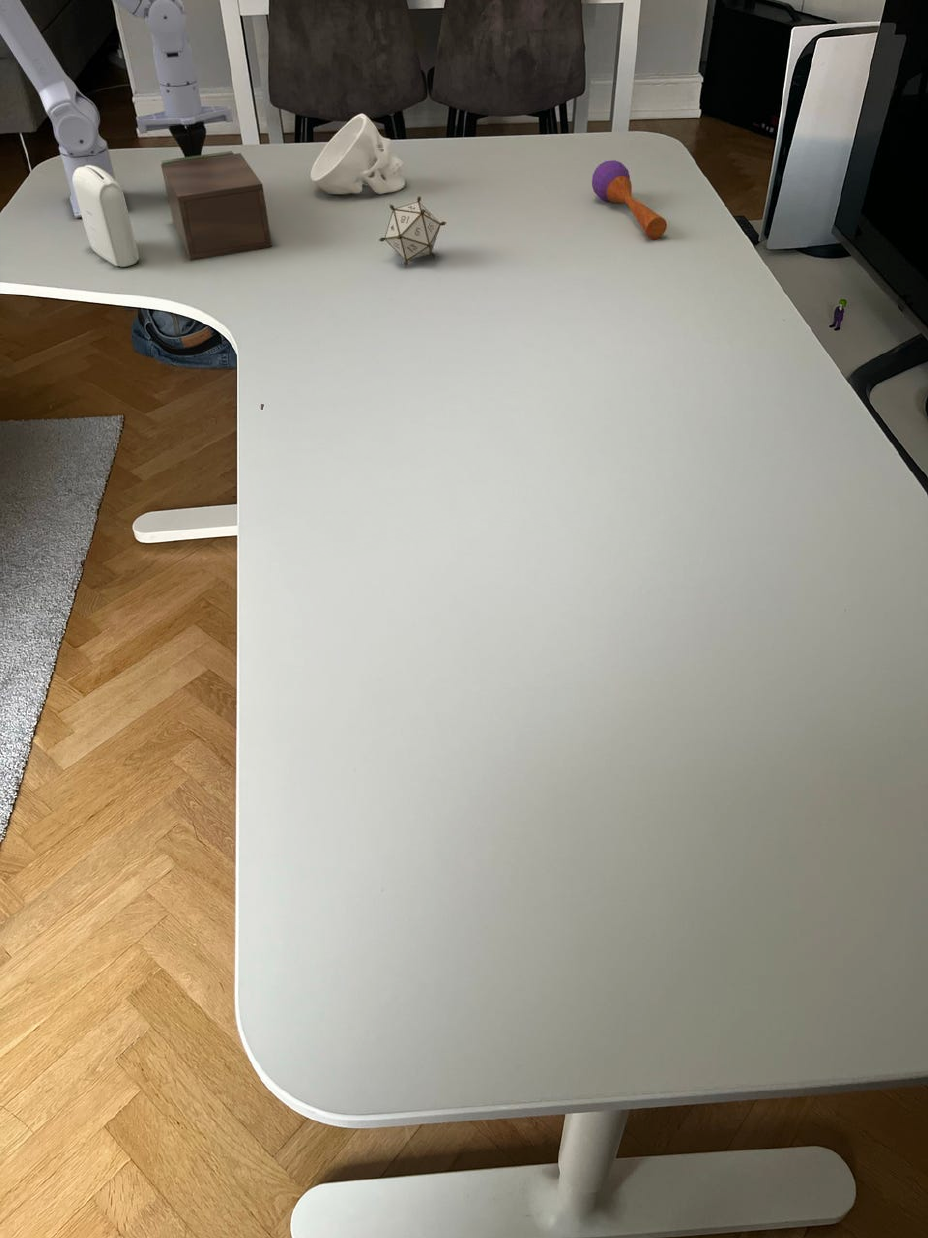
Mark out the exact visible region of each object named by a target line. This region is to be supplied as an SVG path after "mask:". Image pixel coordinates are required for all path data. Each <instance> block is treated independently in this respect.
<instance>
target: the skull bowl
mask: <svg viewBox="0 0 928 1238" xmlns="http://www.w3.org/2000/svg"><path fill="white" fill-rule="evenodd" d="M391 143H392V139H390V138H387V137H384V136H382V135H381V134H380V132H379V131H378V128H377V127H376V125H375V123H373V121H372V120H371V119H370V118H369V117H368V116H367V115H366V114H364V113H359V114H357V115H355V116H353V117H352V118H351V119H350V120H349V121H347V123H346V124H345V125H344V126H342V127H341V128H340V129H339V130H338V132H336V133H335V134H334V135H333V136H332V137H331V139H330V140H329V141H328V142H327V143H326V145H325V146H324V148H323V149H322V150H321V152H320V153H319V155H318V156H317V158H316V159H315V161H314V164H313V165H312V167H311V170H310V174H309V175H310V178H311V180H312V182H313V183H314V185H316V186H317V187H318V188H319V189H320V190H322V191H324V192H326V193H327V194H329V195H347V194H360V193H361V192H362V191H363V185H364V186H367V187H370V188H371V190H373V192H375V193H377V194H378V195H383V194H387V193H395V192H398V191H400V190H402V189H404V188H405V186H406V181H405V179H404V178H403V176H402V171H403V169H402V168H403V167H404V162H403V161H402V159H400V157H397V155H395V153H394V152H393V151H390V148H391V147H390V146H391Z"/></svg>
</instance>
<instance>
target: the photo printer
mask: <svg viewBox="0 0 928 1238" xmlns="http://www.w3.org/2000/svg"><path fill="white" fill-rule="evenodd" d="M72 181H73V186H74V190H75V193H76V197H77V201H78V204H79V208H80V211H81V215H82V217H81V218H82V222H83V225H84V229H85V232H86V235H87V239H88V243H89V246H90V247H91V249H92V251H93V252H95V253H96V254H97V255H98V256H100V257H101V258H103V259H104V260H106V261H107V262H109V263H110V264H112V265H114V266H115V267H121V268H123V267H124V268H126V267H129V266H130V267H131V266H133V265H135V264H137V263H138V261H139V260H140V254H139V250H138V246H137V243H136V239H135V234H134V230H133V226H132V222H131V219H130V215H129V211H128V206H127V203H126V198H125V194H124V191H123V189H122V187H121V186H120V184H119V183H118V182H117V180H116V181H115V180H114V179H113V178H112V177H111V176H110V175H109V174H108V173H107V172H105V171H104V170H102V169H100V168H98V167H96V166H92V165H86V166H84V167H79V168H77V169H76V170H75V172H74V174H73V178H72Z"/></svg>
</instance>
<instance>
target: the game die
mask: <svg viewBox="0 0 928 1238" xmlns="http://www.w3.org/2000/svg"><path fill="white" fill-rule="evenodd" d="M416 200H417V201H416V202H412V203H409V204H405V205H402V206H399V207H395V206H394V205H393V204H390V203H389V209H390V210H391V213H390V218H389V221H388V224H387V228H386V231H385V235H384V237H383V236H382V237H380V238H379V239H378V241H379V242H381V243H382V242H384V241H385V242H386V243H387V244H388V245H389V246H390V247H391V248H392V249H393V250H394V251H396V253H397V254H398V255H399V256H400V257H401V258H402V259H403V260H404V263H403V265H404V267H405V268H406V267H407V266H408V265H409V262H410V261H411V260H414V259H415V260H416V259H418V258H420V257H424V256H428V255H430V257H432V258H435V253H434V252H433V250H434V246H435V243H436V240H437V237H438V234H439V231H440V229H441V226H445V225H446V224H447V221H445V220H444V221H441V222H440V221H439V220H438V219H437V218H436V217H435V215H433V214H432V213H431V212H430V211H429V210H428V209H427V208H426V207H425V206H424V205H423V204H422V203H421V201H422V197H421V195H419V196H418V197H417V198H416ZM408 261H409V262H408Z"/></svg>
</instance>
